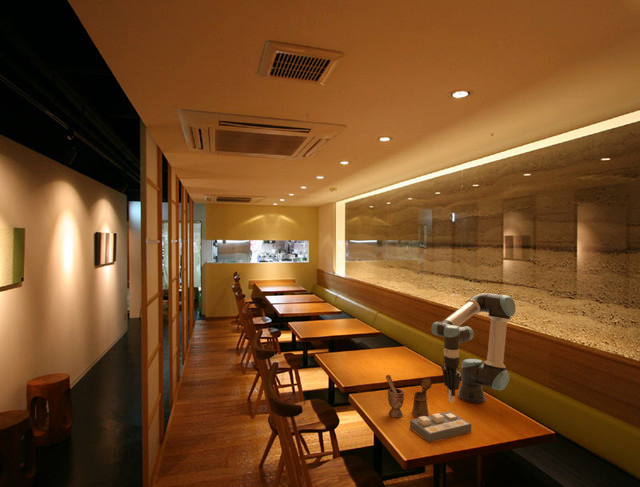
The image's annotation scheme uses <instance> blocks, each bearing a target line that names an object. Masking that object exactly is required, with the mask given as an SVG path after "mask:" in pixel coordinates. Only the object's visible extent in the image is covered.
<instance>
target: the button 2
mask: <svg viewBox="0 0 640 487" xmlns="http://www.w3.org/2000/svg"><path fill="white" fill-rule="evenodd" d="M452 413H453V412H452ZM452 413H449V414H445V417H446V418H448V419H449V420H454V419H457V416H458V415H457V416H455V415H456V414H455V415H453V414H454V413H453V414H452Z"/></svg>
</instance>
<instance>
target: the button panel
mask: <svg viewBox="0 0 640 487" xmlns="http://www.w3.org/2000/svg"><path fill="white" fill-rule="evenodd" d="M449 413H452V414H453V415H455V416H457V419H454V420H449V419H448V418H446V417H445V414H449ZM439 414H441V415H442V416H444V422H441V423H436V422H435V421H433V420H432V414H431V415H428V416H427V418H429V419H430V425H427V426H422V425H421V424H419V423H418V419H419V417H417V418H414V419H410V420H409V428H410V430H412V431H413V432H415V433H416V434H418V435H419V436H420V437H422V439H424V440H425V441H426V442H428V443H433V442H437V441H441V440H445V439H449V438H452V437H457V436H461V435H465V434H469V433H472V423H471V422H469V421H467V420H466V419H464V418H462V417H460V416H459V415H457V414H455V413H453V412H451V411H445V412H441V413H439Z"/></svg>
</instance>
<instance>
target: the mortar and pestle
mask: <svg viewBox="0 0 640 487" xmlns="http://www.w3.org/2000/svg"><path fill="white" fill-rule="evenodd" d="M385 379H386V382H387V384H388V386H389V387H390V388H388V390H387V400H388V404H389V406H390V407H391V409H390V410H389V412H388V415H389V416H390V417H391V418H397V419H398V418H402V416H403V411H402V410H401V408H402V406H403V405H404V400H405V392H404V390H403V389H401V388H397V387H395V386H394V382H393V379H392V377H391V375H390V374H387V375H386V376H385Z"/></svg>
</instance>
